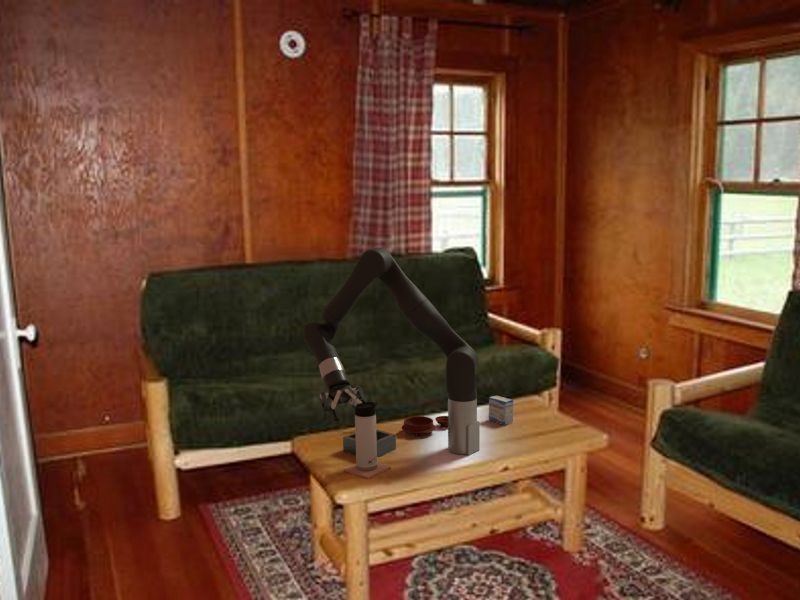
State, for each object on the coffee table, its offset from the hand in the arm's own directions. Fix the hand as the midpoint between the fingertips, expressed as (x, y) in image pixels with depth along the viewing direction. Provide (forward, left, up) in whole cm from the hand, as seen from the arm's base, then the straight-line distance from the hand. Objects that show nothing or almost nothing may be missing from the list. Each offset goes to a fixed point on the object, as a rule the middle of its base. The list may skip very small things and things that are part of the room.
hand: (350, 419), depth 223 cm
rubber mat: (-10, +3, -13) cm, 17 cm away
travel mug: (-10, +3, -12) cm, 16 cm away
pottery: (-3, -36, -13) cm, 38 cm away
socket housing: (0, -9, -13) cm, 16 cm away
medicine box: (-18, -59, -13) cm, 63 cm away
